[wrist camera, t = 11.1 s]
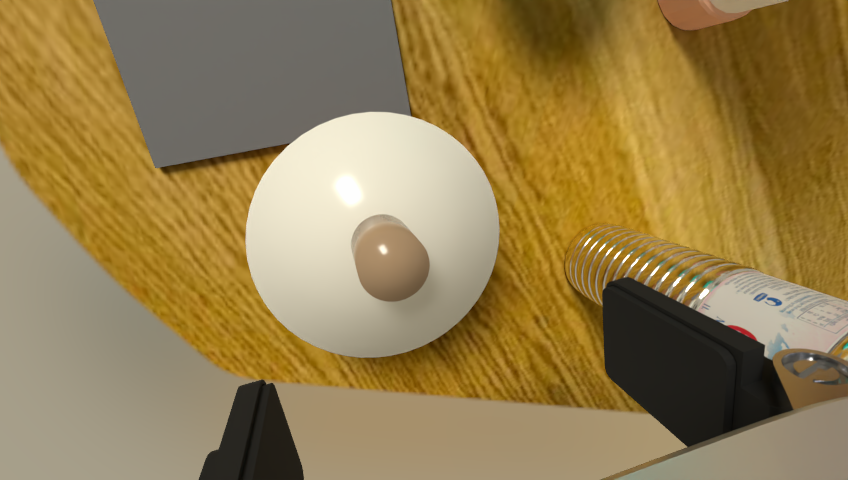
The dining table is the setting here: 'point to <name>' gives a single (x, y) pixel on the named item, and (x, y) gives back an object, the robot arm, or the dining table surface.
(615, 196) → the dining table surface
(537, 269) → the dining table surface
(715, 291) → the water bottle
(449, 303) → the lid
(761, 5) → the pepper shaker
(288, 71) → the mat
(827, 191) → the dining table surface
